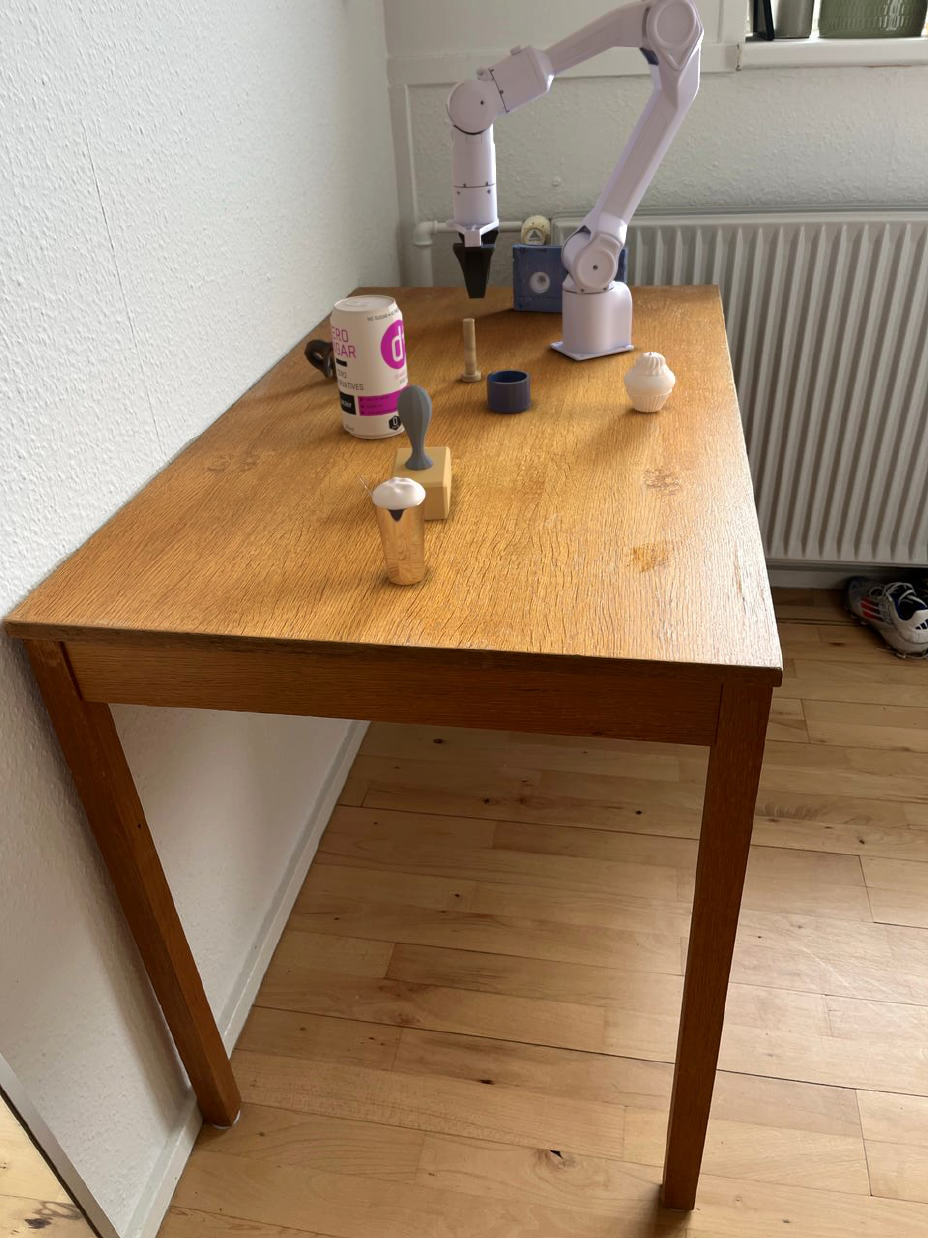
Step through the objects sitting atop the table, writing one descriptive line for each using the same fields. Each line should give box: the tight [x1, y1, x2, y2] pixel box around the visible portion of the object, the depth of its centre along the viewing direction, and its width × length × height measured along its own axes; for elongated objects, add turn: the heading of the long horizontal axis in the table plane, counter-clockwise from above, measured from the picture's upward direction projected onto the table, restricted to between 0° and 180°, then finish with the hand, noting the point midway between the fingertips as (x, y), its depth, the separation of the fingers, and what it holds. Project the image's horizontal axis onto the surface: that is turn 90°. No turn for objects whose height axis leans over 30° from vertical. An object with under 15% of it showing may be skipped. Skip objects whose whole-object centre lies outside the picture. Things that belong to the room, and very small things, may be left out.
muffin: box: [623, 351, 676, 414], centre depth 115 cm, size 6×6×7 cm
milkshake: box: [359, 475, 426, 586], centre depth 83 cm, size 4×5×10 cm
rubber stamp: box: [389, 384, 453, 521], centre depth 96 cm, size 10×6×12 cm, turn 179°
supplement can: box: [329, 294, 409, 440], centre depth 112 cm, size 8×8×15 cm
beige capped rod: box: [461, 317, 482, 383], centre depth 128 cm, size 3×3×8 cm
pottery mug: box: [303, 338, 337, 379], centre depth 129 cm, size 12×10×8 cm
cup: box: [485, 369, 532, 415], centre depth 119 cm, size 5×5×4 cm
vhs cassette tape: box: [512, 243, 629, 313], centre depth 153 cm, size 18×3×10 cm, turn 69°
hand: (478, 290), depth 132 cm, fingers open, 7 cm apart
